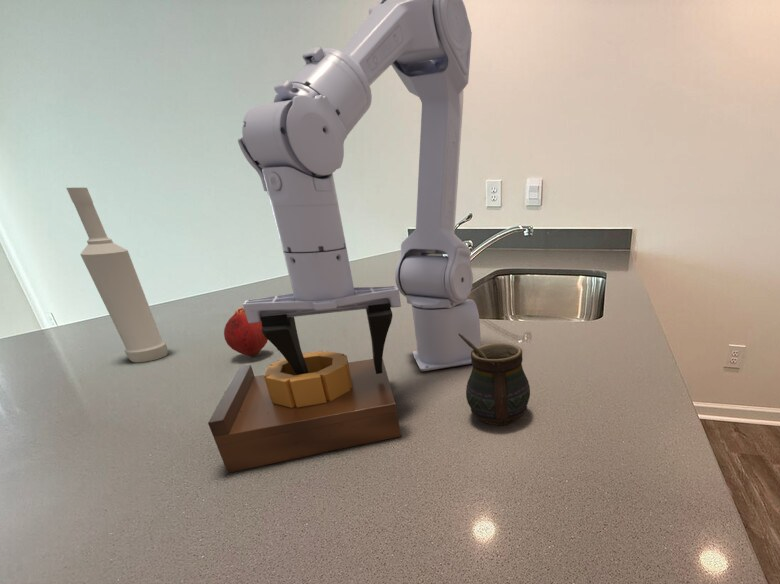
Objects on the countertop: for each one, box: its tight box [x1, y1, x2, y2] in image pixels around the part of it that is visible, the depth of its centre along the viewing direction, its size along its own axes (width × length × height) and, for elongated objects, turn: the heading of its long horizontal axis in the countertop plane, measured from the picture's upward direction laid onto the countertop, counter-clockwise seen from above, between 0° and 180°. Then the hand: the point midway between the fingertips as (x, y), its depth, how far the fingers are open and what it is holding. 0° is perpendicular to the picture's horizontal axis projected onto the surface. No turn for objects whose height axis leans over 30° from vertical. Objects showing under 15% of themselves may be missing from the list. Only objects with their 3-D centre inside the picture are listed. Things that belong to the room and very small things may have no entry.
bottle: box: [66, 187, 169, 363], centre depth 61 cm, size 5×5×25 cm
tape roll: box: [263, 350, 352, 408], centre depth 44 cm, size 8×8×3 cm
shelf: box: [207, 357, 402, 474], centre depth 45 cm, size 16×14×6 cm
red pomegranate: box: [223, 306, 269, 358], centre depth 64 cm, size 6×6×8 cm
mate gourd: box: [458, 333, 531, 427], centre depth 45 cm, size 7×8×10 cm
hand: (343, 376), depth 45 cm, fingers open, 7 cm apart
